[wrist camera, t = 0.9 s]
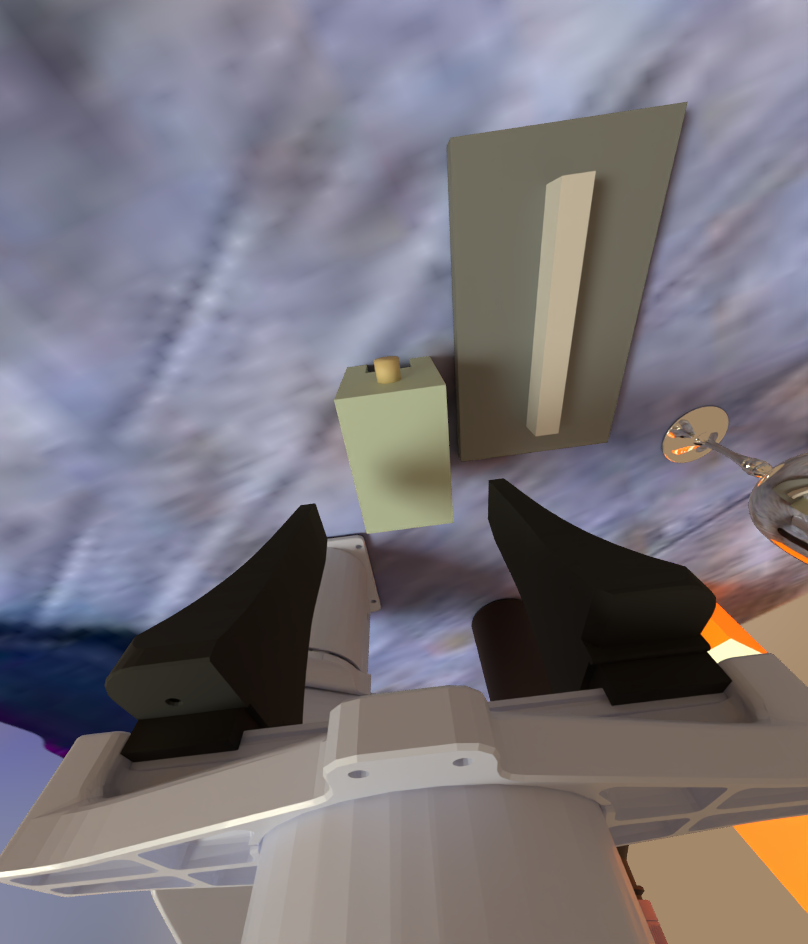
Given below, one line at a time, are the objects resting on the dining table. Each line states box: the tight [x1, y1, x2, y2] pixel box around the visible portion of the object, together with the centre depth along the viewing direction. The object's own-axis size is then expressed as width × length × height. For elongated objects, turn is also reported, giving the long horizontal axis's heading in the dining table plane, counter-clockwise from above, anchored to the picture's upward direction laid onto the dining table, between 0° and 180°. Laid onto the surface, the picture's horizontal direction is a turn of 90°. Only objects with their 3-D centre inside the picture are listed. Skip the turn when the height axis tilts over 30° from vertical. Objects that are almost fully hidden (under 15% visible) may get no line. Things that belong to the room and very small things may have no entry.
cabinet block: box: [334, 356, 453, 534], centre depth 19 cm, size 9×5×6 cm, turn 7°
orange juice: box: [701, 603, 808, 913], centre depth 26 cm, size 8×9×20 cm
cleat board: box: [447, 102, 687, 462], centre depth 18 cm, size 16×10×2 cm, turn 7°
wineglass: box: [662, 406, 808, 565], centre depth 18 cm, size 6×6×12 cm
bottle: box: [472, 599, 668, 944], centre depth 25 cm, size 7×7×20 cm
